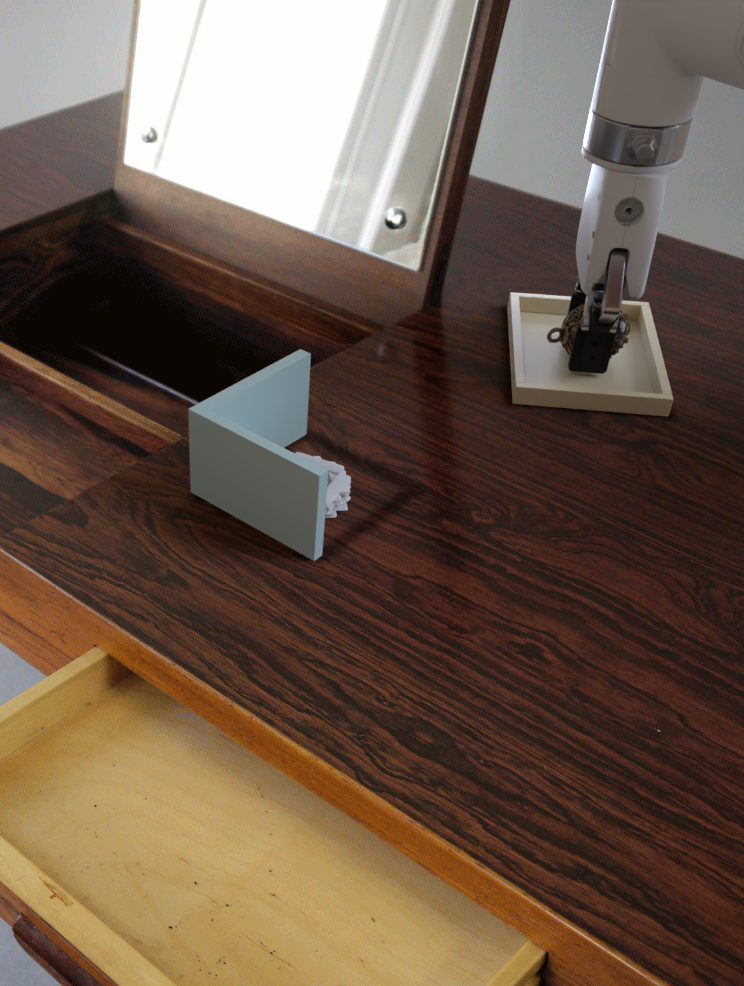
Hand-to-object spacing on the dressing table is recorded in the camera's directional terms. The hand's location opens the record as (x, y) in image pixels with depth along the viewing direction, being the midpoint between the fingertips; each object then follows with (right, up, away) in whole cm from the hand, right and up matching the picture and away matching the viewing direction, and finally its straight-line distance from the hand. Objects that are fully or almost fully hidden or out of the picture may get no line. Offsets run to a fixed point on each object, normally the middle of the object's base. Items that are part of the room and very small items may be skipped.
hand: (584, 351), depth 99 cm
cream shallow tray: (0, -1, +1) cm, 1 cm away
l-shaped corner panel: (-25, -15, -14) cm, 33 cm away
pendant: (0, -1, 0) cm, 1 cm away
